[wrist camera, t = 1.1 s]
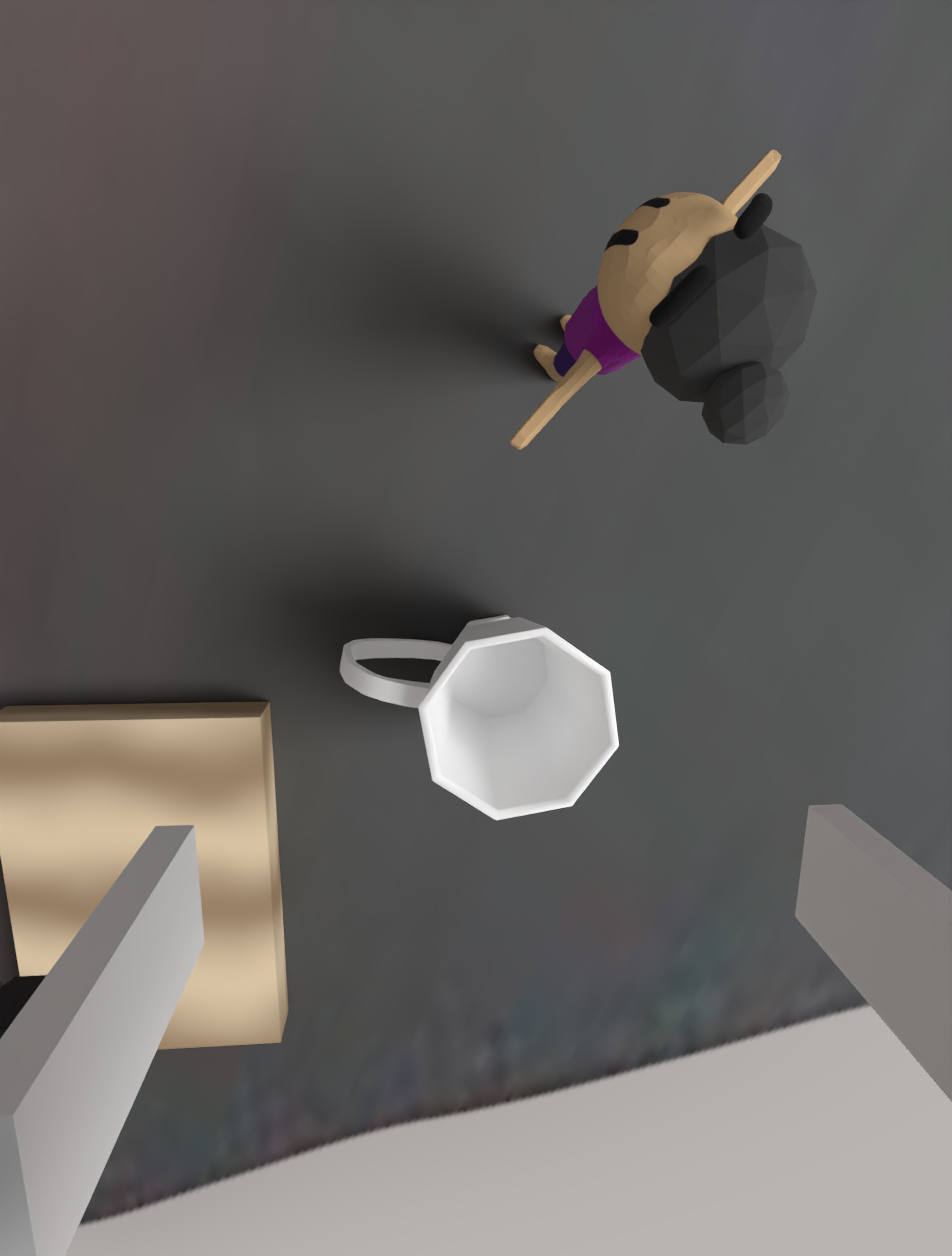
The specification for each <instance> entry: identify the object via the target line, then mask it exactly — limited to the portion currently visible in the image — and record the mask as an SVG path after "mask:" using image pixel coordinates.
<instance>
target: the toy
mask: <svg viewBox="0 0 952 1256" xmlns="http://www.w3.org/2000/svg"><path fill="white" fill-rule="evenodd" d="M780 158H781V155H780V154H779V153H778V152H777V151H776V150H771V151H770V152H769V153H768V154H766V155H765V156H764V157H763V158H762V159H760V161H759V162H758V163H757V164H756V165H755V166H754V167H753V168H752V169H751V170H750V172H749V173H748V174H747V175H746V176H745V177H744V178H743V179H742V180H741V182H740V183H739V184H738V185H737V186H736V187H735V188H734V189H733V190H732V191H731V192H730V193H729V194H728V195H727V196H726V197H725V199H724V200H723V201H722V202H720V203H719V202H718V201H716V200H715V199H713V198H711V197H709V196H706V195H703V194H698V193H690V192H676V193H672V194H668V195H663V196H660V197H657V198H654V199H651V200H649V201H647V202H645V203H644V204H642V205H641V206H640V207H639V208H637V209H636V210H635V211H634V212H632V213H631V214H630V216H629V217H628V218H627V219H626V220H625V221H624V222H623V224H622V225H621V226H620V227H619V228H618V229H617V230H616V231H615V233H614V234H613V235H612V237H611V239H610V240H609V242H608V244H607V247H606V249H605V252H604V255H603V258H602V262H601V265H600V270H599V275H598V285H597V286H596V287H595V288H593V289H592V290H591V291H590V292H589V293H588V294H587V296H586V297H584V298H583V300H582V301H581V303H580V305H579V306H578V308H577V309H576V311H575V312H574V314H573V315H572V316H571V315H564V316H563V317H562V318H561V320H560V323H561V326H562V328H563V330H564V340H565V343H564V344H563V345H562V347H561V349H560V350H559V351H558V353H556V352H554V351H553V350H551V349H550V348H548V347H547V346H544V345H540V344H539V345H537V346H536V348H535V349H534V355H535V357H536V359H537V360H538V362H539V363H540V364H541V365H542V366H543V367H544V369H545V370H546V371H547V373H548V375H549V376H550V377H551V378H552V379H553V380H555V381H556V382H559V384H558V385H557V386H556V387H555V388H554V389H553V390H552V392H551V393H550V394H549V395H548V396H547V397H546V399H545V400H544V401H543V402H542V403H541V405H540V406H539V407H538V408H537V409H536V410H535V412H534V413H533V414H532V415H531V416H530V417H529V418H528V419H527V421H526V422H525V423H524V424H523V425H522V426H521V427H520V429H519V430H518V431H517V432H516V433H515V435H514V436H513V437H512V438H511V440H510V444H511V445H512V446H513V447H515V448H516V449H522V448H523V447H525V446H526V445H527V444H528V443H529V442H530V441H531V440H532V439H533V438H534V437H535V436H536V435H537V433H538V432H539V431H540V430H541V429H542V428H543V427H544V426H545V425H546V424H547V423H548V421H549V420H550V419H551V418H552V417H553V416H554V415H555V413H556V412H557V411H558V410H559V409H560V408H561V406H562V405H563V404H564V403H565V402H566V401H567V400H568V399H569V398H570V397H571V396H572V395H573V394H574V393H575V392H577V391H578V390H579V389H580V388H581V387H582V386H583V385H584V384H585V383H586V382H587V381H588V380H589V379H590V378H591V377H592V376H594V375H595V374H600V375H605V374H607V373H610V372H613V371H616V370H619V369H620V367H622V366H624V365H625V364H627V363H629V362H631V361H632V360H634V359H636V358H638V357H640V356H641V355H642V356H643V358H644V360H645V363H646V365H647V367H648V369H649V371H650V373H651V375H652V377H653V379H654V381H655V382H656V383H658V384H659V385H660V386H662V387H663V388H664V389H665V390H667V391H668V392H669V393H671V394H672V395H673V396H674V397H676V398H677V399H678V400H680V401H692V402H704V406H703V410H702V416H703V418H704V421H705V423H706V425H707V427H708V430H709V432H710V433H711V434H713V435H714V436H715V437H716V438H718V439H719V440H720V441H722V442H723V443H733V444H749V443H751V442H753V441H755V440H757V439H759V438H761V437H763V436H765V435H766V434H767V433H768V432H769V431H770V430H771V429H772V428H773V427H774V425H775V424H776V423H777V422H778V421H779V420H780V419H781V418H782V417H783V415H784V411H785V407H786V403H787V399H788V395H789V391H788V388H787V386H786V383H785V381H784V378H783V375H782V373H781V372H779V370H780V368H781V367H782V366H783V365H784V364H785V363H786V361H787V360H788V359H789V358H790V357H791V355H792V354H793V353H794V352H795V351H796V350H797V348H798V347H799V346H800V345H801V344H802V343H803V341H804V340H805V336H806V332H807V328H808V324H809V320H810V316H811V312H812V308H813V304H814V300H815V296H816V292H817V290H816V287H815V284H814V281H813V278H812V275H811V272H810V269H809V267H808V264H807V261H806V258H805V255H804V252H803V249H802V246H801V245H799V244H797V243H796V242H794V241H792V240H790V239H788V238H787V237H785V236H783V235H781V234H779V233H777V232H776V231H774V230H772V229H770V228H768V227H766V226H765V225H763V223H764V222H765V220H766V219H767V217H768V216H769V214H770V212H771V210H772V205H773V204H772V200H771V198H770V197H769V196H768V195H767V194H764V193H760V194H758V195H756V196H755V197H754V198H753V199H752V201H751V203H750V204H749V206H748V207H747V208H746V210H745V211H744V212H743V213H742V215H741V216H740V217H739V218H738V219H737V217H736V216H735V214H736V212H737V211H738V210H739V209H740V208H741V207H742V206H743V205H744V204H745V203H746V202H747V201H748V199H749V198H750V197H751V196H752V195H753V194H754V193H755V192H756V190H757V189H758V188H759V187H760V186H761V185H762V184H763V182H764V181H765V180H766V179H767V178H768V177H769V176H770V175H771V173H772V172H773V171H774V170H775V169H776V167H777V165H778V163H779V161H780Z"/></svg>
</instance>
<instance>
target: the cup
mask: <svg viewBox="0 0 952 1256" xmlns="http://www.w3.org/2000/svg"><path fill="white" fill-rule="evenodd" d="M370 658H419V659H433V660H439V661H441V663H440V664H439V665H438V667H437V668H436V670H435V671H434V674H433V676H432V678H431V681H430V683H423V682H414V681H407V680H400V679H394V678H387V677H384V676H381V675H378V674H375V673H373V672H371V671H370V670H368V669H366V668H365V667H363V666H361V665H360V664H358V663H356V660H359V659H370ZM340 673H341V675H342V677H343V679H344V681H345V683H346V684H348V685H349V686H351V687H352V688H354V689H355V690H357V691H359V692H360V693H362V694H363V695H366V696H369V697H372V698H375V699H378V700H381V701H384V702H389V703H393V704H398V705H402V706H406V707H413V708H418V709H419V714H420V719H421V724H422V729H423V735H424V740H425V745H426V750H427V755H428V760H429V766H430V771H431V776H432V781H434V782H435V783H437V784H438V785H440V786H442V787H443V788H445V789H446V790H448V791H450V792H451V793H453V794H455V795H456V796H458V797H459V798H461V799H463V800H464V801H466V802H467V803H469V804H471V805H472V806H474V807H475V808H477V809H479V810H480V811H482V812H483V813H485V814H487V815H488V816H490V817H492V818H493V819H495V820H501V819H506V818H511V817H516V816H522V815H527V814H532V813H537V812H543V811H548V810H553V809H558V808H564V807H569V806H572V805H573V804H574V803H575V801H576V800H577V799H578V798H579V796H580V795H581V794H582V792H583V791H584V790H585V789H586V787H587V786H588V785H589V784H590V782H591V781H592V780H593V778H594V777H595V776H596V775H597V773H598V772H599V771H600V770H601V768H602V767H603V766H604V764H605V763H606V762H607V761H608V759H609V758H610V757H611V755H612V754H613V753H614V752H615V750H616V749H617V748H618V747H619V742H618V734H617V725H616V717H615V709H614V701H613V693H612V684H611V676H610V672H609V671H608V670H606V669H605V668H604V667H602V666H601V665H599V664H598V663H596V662H595V661H594V660H592V659H591V658H589V657H588V656H586V655H585V654H584V653H582V652H581V651H579V650H578V649H576V648H575V647H574V646H572V645H571V644H569V643H568V642H566V641H565V640H564V639H562V638H561V637H559V636H558V635H556V634H555V633H554V632H552V631H551V630H549V629H548V628H547V627H544V626H542V625H540V624H537V623H533V622H531V621H529V620H526V619H524V618H522V617H517V618H511V617H509V616H508V615H502V616H496V617H491V618H485V619H480V620H474V621H469V622H468V623H467V625H466V626H465V628H464V629H463V630H462V632H461V633H460V634H459V636H458V637H457V639H456V640H455V641H454V643H453V644H447V643H442V642H437V641H427V640H416V639H390V638H369V639H358V640H353V641H351V642H349V643H347V644H345V645H344V647H343V652H342V657H341V662H340Z"/></svg>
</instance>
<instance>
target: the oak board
mask: <svg viewBox="0 0 952 1256" xmlns="http://www.w3.org/2000/svg"><path fill="white" fill-rule="evenodd" d="M173 825H194V826H195V838H196V849H197V860H198V872H199V883H200V895H201V906H202V918H203V929H204V941H205V943H204V946H203V948H202V950H201V952H200V955H199V957H198V959H197V961H196V964H195V966H194V968H193V970H192V972H191V975H190V977H189V979H188V981H187V984H186V986H185V988H184V990H183V993H182V995H181V997H180V999H179V1002H178V1004H177V1006H176V1008H175V1011H174V1013H173V1015H172V1017H171V1019H170V1022H169V1024H168V1026H167V1028H166V1031H165V1033H164V1035H163V1037H162V1040H161V1042H160V1044H159V1046H158V1049H174V1048H192V1047H210V1046H228V1045H245V1044H263V1043H281V1039H282V1035H283V1031H284V1026H285V1022H286V1018H287V1014H288V995H287V979H286V962H285V946H284V929H283V913H282V896H281V879H280V863H279V846H278V830H277V813H276V797H275V780H274V764H273V747H272V730H271V714H270V701H264V702H206V703H149V704H91V705H33V706H6V707H5V708H3V709H1V710H0V856H1V862H2V868H3V875H4V881H5V887H6V893H7V900H8V906H9V912H10V918H11V924H12V931H13V937H14V943H15V949H16V956H17V962H18V968H19V974H20V976H38V975H47V974H48V973H49V971H50V970H51V969H52V967H53V966H54V965H55V963H56V962H57V961H58V959H59V958H60V956H61V955H62V954H63V952H64V951H65V950H66V948H67V947H68V945H69V944H70V943H71V941H72V940H73V939H74V937H75V936H76V934H77V933H78V932H79V930H80V929H81V928H82V926H83V925H84V924H85V922H86V921H87V919H88V918H89V917H90V915H91V914H92V913H93V911H94V910H95V908H96V907H97V906H98V904H99V903H100V902H101V900H102V899H103V898H104V896H105V895H106V893H107V892H108V891H109V889H110V888H111V887H112V885H113V884H114V882H115V881H116V880H117V878H118V877H119V876H120V874H121V873H122V871H123V870H124V869H125V867H126V866H127V865H128V863H129V862H130V861H131V859H132V858H133V856H134V855H135V854H136V852H137V851H138V850H139V848H140V847H141V845H142V844H143V843H144V841H145V840H146V839H147V837H148V836H149V835H150V833H151V832H152V830H153V829H154V828H155V826H173Z"/></svg>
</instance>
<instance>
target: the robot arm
mask: <svg viewBox="0 0 952 1256" xmlns="http://www.w3.org/2000/svg"><path fill="white" fill-rule="evenodd" d="M795 917H796V918H797V919H798V920H799V921H800V923H801V924H802V925H803V926H804V927H805V929H806V930H807V931H808V932H809V933H810V934H811V936H812V937H813V938H814V939H815V940H816V942H817V943H818V944H819V945H820V946H821V947H822V949H823V950H824V951H825V952H826V953H827V955H828V956H829V957H830V958H831V959H832V960H833V962H834V963H835V964H836V965H837V966H838V968H839V969H840V970H841V971H842V972H843V973H844V975H845V976H846V977H847V978H848V979H849V981H850V982H851V983H852V984H853V985H854V986H855V988H856V989H857V990H858V991H859V992H860V994H861V995H862V996H863V997H864V998H865V1000H866V1001H867V1002H868V1003H869V1004H870V1005H871V1007H872V1008H873V1009H874V1010H875V1011H876V1013H877V1014H878V1015H879V1016H880V1017H881V1018H882V1020H883V1021H884V1022H885V1023H886V1024H887V1026H888V1027H889V1028H890V1029H891V1030H892V1031H893V1033H894V1034H895V1035H896V1036H897V1037H898V1038H899V1040H900V1041H901V1042H902V1043H903V1044H904V1046H905V1047H906V1048H907V1049H908V1050H909V1051H910V1053H911V1054H912V1055H913V1056H914V1057H915V1059H916V1060H917V1061H918V1062H919V1063H920V1065H921V1066H922V1067H923V1068H924V1069H925V1071H926V1072H927V1073H928V1074H929V1075H930V1076H931V1078H932V1079H933V1080H934V1081H935V1082H936V1083H937V1085H938V1086H939V1087H940V1088H941V1089H942V1091H943V1092H944V1093H945V1094H946V1095H947V1096H948V1098H949V1099H950V1100H951V1101H952V891H951V890H950V889H949V888H947V887H946V886H945V885H944V884H942V883H941V882H940V881H939V880H937V879H936V878H935V877H933V876H932V875H931V874H930V873H928V872H927V871H926V870H925V869H923V868H922V867H921V866H920V865H918V864H917V863H916V862H914V861H913V860H912V859H911V858H909V857H908V856H907V855H906V854H904V853H903V852H902V851H901V850H899V849H898V848H897V847H895V846H894V845H893V844H892V843H890V842H889V841H888V840H887V839H885V838H884V837H883V836H882V835H880V834H879V833H878V832H876V831H875V830H874V829H873V828H871V827H870V826H869V825H868V824H866V823H865V822H864V821H863V820H861V819H860V818H859V817H857V816H856V815H855V814H854V813H852V812H851V811H850V810H849V809H847V808H846V807H845V806H844V805H842V804H838V805H809V809H808V817H807V825H806V833H805V841H804V849H803V857H802V865H801V873H800V882H799V890H798V898H797V906H796V914H795ZM204 943H205V941H204V929H203V918H202V906H201V895H200V883H199V872H198V860H197V849H196V838H195V826H194V825H173V826H155V828H154V829H153V830H152V832H151V833H150V835H149V836H148V837H147V839H146V840H145V841H144V843H143V844H142V845H141V847H140V848H139V850H138V851H137V852H136V854H135V855H134V856H133V858H132V859H131V861H130V862H129V863H128V865H127V866H126V867H125V869H124V870H123V871H122V873H121V874H120V876H119V877H118V878H117V880H116V881H115V882H114V884H113V885H112V887H111V888H110V889H109V891H108V892H107V893H106V895H105V896H104V898H103V899H102V900H101V902H100V903H99V904H98V906H97V907H96V908H95V910H94V911H93V913H92V914H91V915H90V917H89V918H88V919H87V921H86V922H85V924H84V925H83V926H82V928H81V929H80V930H79V932H78V933H77V934H76V936H75V937H74V939H73V940H72V941H71V943H70V944H69V945H68V947H67V948H66V950H65V951H64V952H63V954H62V955H61V956H60V958H59V959H58V961H57V962H56V963H55V965H54V966H53V967H52V969H51V970H50V971H49V973H48V974H47V975H38V976H17V977H15V978H13V979H12V980H11V981H9V982H8V983H7V984H5V985H4V986H3V987H1V988H0V1256H65V1254H66V1252H67V1250H68V1247H69V1245H70V1243H71V1241H72V1239H73V1236H74V1234H75V1232H76V1230H77V1228H78V1225H79V1223H80V1221H81V1219H82V1216H83V1214H84V1212H85V1210H86V1207H87V1205H88V1203H89V1201H90V1198H91V1196H92V1194H93V1192H94V1189H95V1187H96V1185H97V1183H98V1181H99V1178H100V1176H101V1174H102V1172H103V1169H104V1167H105V1165H106V1163H107V1160H108V1158H109V1156H110V1154H111V1151H112V1149H113V1147H114V1145H115V1143H116V1140H117V1138H118V1136H119V1134H120V1131H121V1129H122V1127H123V1125H124V1122H125V1120H126V1118H127V1116H128V1113H129V1111H130V1109H131V1107H132V1104H133V1102H134V1100H135V1098H136V1096H137V1093H138V1091H139V1089H140V1087H141V1084H142V1082H143V1080H144V1078H145V1075H146V1073H147V1071H148V1069H149V1066H150V1064H151V1062H152V1060H153V1057H154V1055H155V1053H156V1051H157V1049H158V1046H159V1044H160V1042H161V1040H162V1037H163V1035H164V1033H165V1031H166V1028H167V1026H168V1024H169V1022H170V1019H171V1017H172V1015H173V1013H174V1011H175V1008H176V1006H177V1004H178V1002H179V999H180V997H181V995H182V993H183V990H184V988H185V986H186V984H187V981H188V979H189V977H190V975H191V972H192V970H193V968H194V966H195V964H196V961H197V959H198V957H199V955H200V952H201V950H202V948H203V946H204Z"/></svg>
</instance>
